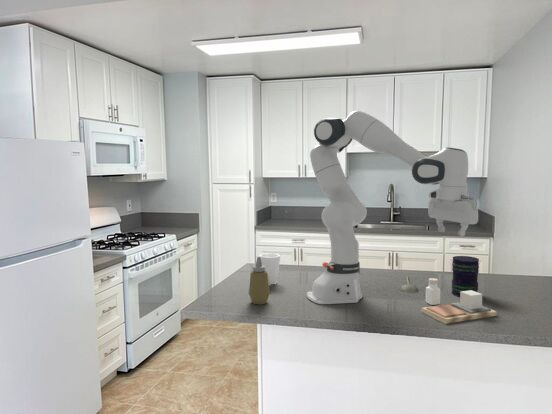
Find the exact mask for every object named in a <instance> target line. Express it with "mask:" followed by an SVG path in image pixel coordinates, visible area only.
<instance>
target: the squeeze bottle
mask: <svg viewBox="0 0 552 414" xmlns="http://www.w3.org/2000/svg"><path fill="white" fill-rule="evenodd" d="M255 261H256V263H255V265H253V266H252V271H251V272H250V276H249V277H250V278H249V288H248V295H249V299H250V301H251V303H252V304H253V305H265V304H267V303H268V300H269V297H270V293H271V292H270V285H269V283H268V274H267V272H266V271H265V266H263V265H262V262H261V258H260V257H259V256H257V257H256V260H255Z"/></svg>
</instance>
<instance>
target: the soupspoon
mask: <svg viewBox="0 0 552 414" xmlns="http://www.w3.org/2000/svg"><path fill="white" fill-rule="evenodd" d="M404 279H405V280H406V283H405V284H402V285H401V287H400V288H401V291H403V292H404V293H418V287H417V285H414V284H413V283H412V284H411V283H410V281H409V279H410V277H409V276H407V275H406V276H405V277H404Z"/></svg>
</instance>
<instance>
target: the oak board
mask: <svg viewBox="0 0 552 414" xmlns="http://www.w3.org/2000/svg"><path fill="white" fill-rule="evenodd" d="M420 309H421V310H420V311H421V313H422V314H425V315H426V316H429V317H430V318H433V319H435V320H437V321H438V322H440V323H443V324H446V325H447V324H453V323H459V322H465V321H472V320H477V319H485V318H490V317H496V316H497V310H494V309H492V308H490V307H486V306H484V305H482V308H478V309H468V308H466V307H463V306H461V305H460V301H459V302H454V303H453V302H452V303H447V304H437V305H430V306H424V307H421V308H420Z"/></svg>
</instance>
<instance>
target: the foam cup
mask: <svg viewBox="0 0 552 414" xmlns="http://www.w3.org/2000/svg"><path fill="white" fill-rule="evenodd" d="M258 257H260V258H261V262H262V265H263V266H265V271H266V272H267V274H268V283H269V284H275V285H277V284H278V276H279V269H280V261H281V255H280V254H279V253H275V252H272V253H271V252H270V253H269V252H268V253H267V252H266V253H260V254H259V256H258ZM276 283H277V284H276Z"/></svg>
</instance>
